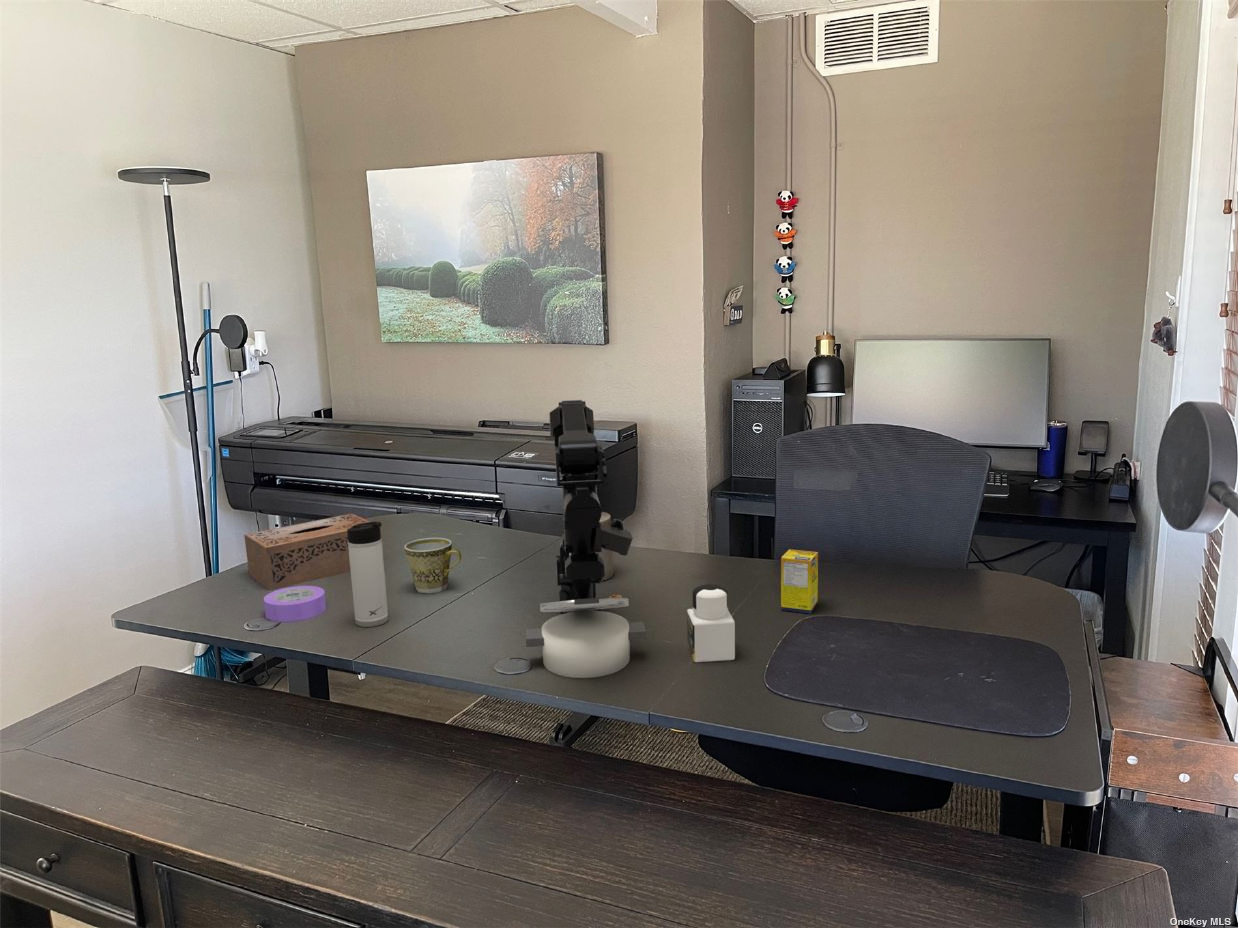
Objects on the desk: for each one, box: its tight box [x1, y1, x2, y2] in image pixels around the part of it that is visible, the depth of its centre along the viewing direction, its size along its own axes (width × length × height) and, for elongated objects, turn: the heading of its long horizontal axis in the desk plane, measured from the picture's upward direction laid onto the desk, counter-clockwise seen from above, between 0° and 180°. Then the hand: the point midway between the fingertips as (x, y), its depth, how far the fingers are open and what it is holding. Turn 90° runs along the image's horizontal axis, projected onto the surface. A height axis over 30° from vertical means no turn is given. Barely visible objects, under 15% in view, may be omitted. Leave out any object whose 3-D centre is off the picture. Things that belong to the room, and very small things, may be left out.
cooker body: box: [525, 610, 647, 679], centre depth 154 cm, size 16×20×6 cm
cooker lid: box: [539, 594, 630, 613], centre depth 152 cm, size 17×15×2 cm
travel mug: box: [347, 521, 389, 628], centre depth 173 cm, size 6×7×20 cm
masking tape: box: [263, 585, 327, 623], centre depth 181 cm, size 12×12×4 cm
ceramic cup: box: [404, 537, 462, 594], centre depth 191 cm, size 13×10×10 cm
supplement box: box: [780, 549, 819, 615], centre depth 174 cm, size 6×6×11 cm
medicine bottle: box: [686, 583, 736, 663], centre depth 154 cm, size 7×7×12 cm
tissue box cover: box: [244, 513, 371, 591], centre depth 207 cm, size 26×14×10 cm, turn 130°
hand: (583, 600), depth 152 cm, fingers closed
